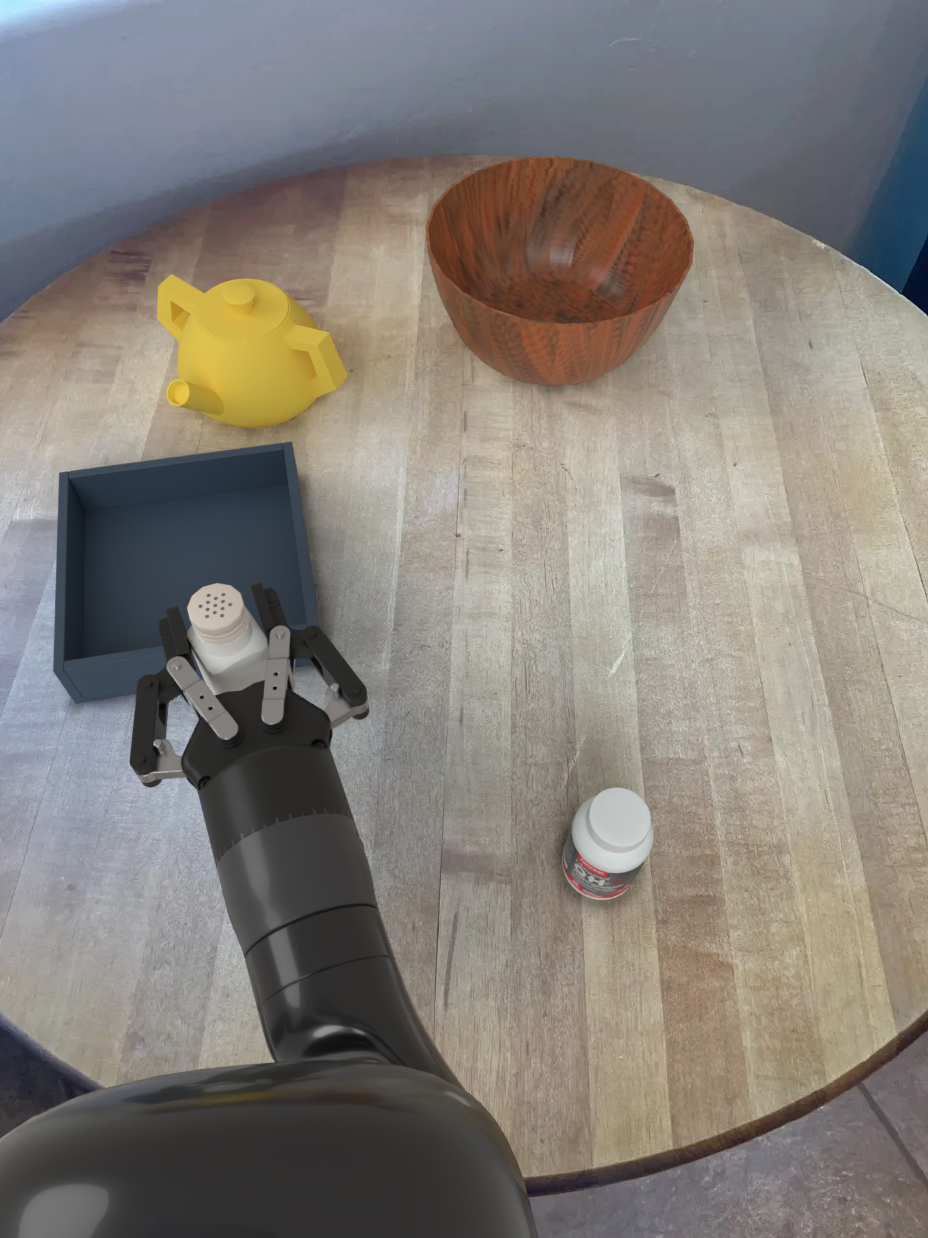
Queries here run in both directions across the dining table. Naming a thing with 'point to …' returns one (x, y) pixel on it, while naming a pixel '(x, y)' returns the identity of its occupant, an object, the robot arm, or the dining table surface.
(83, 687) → the tray
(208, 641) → the salt shaker
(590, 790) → the dining table surface
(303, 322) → the teapot
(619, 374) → the dining table surface
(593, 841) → the pill bottle
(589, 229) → the bowl
